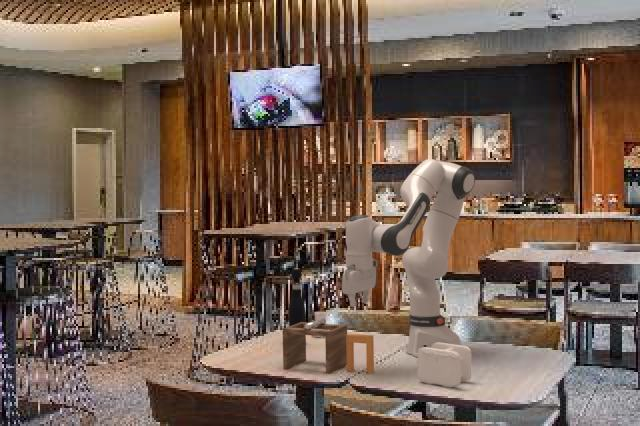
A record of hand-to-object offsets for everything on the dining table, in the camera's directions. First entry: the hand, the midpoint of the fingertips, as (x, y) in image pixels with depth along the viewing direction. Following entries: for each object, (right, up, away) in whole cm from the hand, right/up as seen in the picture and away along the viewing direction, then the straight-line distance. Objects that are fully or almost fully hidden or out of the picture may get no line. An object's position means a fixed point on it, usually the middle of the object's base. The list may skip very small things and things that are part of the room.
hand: (359, 304), depth 278 cm
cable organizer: (+27, -24, -16) cm, 39 cm away
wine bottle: (-22, -21, +45) cm, 55 cm away
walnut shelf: (-15, -23, +9) cm, 28 cm away
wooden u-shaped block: (0, -23, +1) cm, 23 cm away
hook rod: (-15, -9, +8) cm, 19 cm away
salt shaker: (-13, -21, +63) cm, 67 cm away
